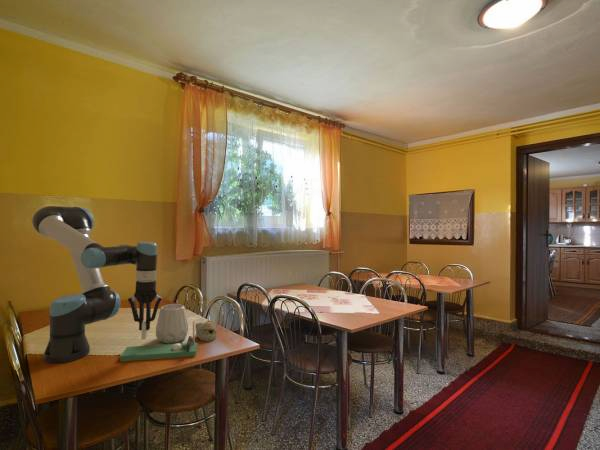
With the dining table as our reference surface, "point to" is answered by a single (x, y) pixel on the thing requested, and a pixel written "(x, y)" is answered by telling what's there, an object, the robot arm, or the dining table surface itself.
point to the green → (160, 351)
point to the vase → (172, 324)
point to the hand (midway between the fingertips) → (144, 337)
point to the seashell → (206, 331)
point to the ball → (176, 347)
